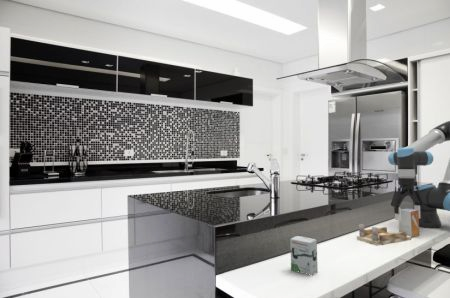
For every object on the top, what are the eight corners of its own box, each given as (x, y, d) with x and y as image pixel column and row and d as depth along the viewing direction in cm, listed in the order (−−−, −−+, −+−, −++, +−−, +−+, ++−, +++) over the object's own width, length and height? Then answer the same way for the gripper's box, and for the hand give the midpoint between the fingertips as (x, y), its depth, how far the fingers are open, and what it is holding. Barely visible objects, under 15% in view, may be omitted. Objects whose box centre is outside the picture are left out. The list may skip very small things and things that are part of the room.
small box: (412, 237, 153) (410, 211, 153) (398, 235, 158) (397, 209, 158) (419, 235, 157) (418, 209, 158) (406, 233, 163) (405, 208, 163)
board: (389, 234, 161) (388, 219, 161) (411, 239, 150) (410, 224, 150) (356, 239, 153) (355, 224, 154) (376, 245, 142) (376, 229, 142)
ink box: (290, 270, 114) (289, 238, 114) (297, 266, 118) (296, 235, 118) (311, 276, 108) (310, 242, 108) (318, 272, 111) (317, 239, 112)
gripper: (416, 176, 166) (418, 216, 166) (382, 177, 158) (383, 219, 157) (430, 177, 159) (432, 218, 159) (394, 178, 151) (396, 222, 150)
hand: (407, 219), depth 158 cm, fingers open, 13 cm apart
